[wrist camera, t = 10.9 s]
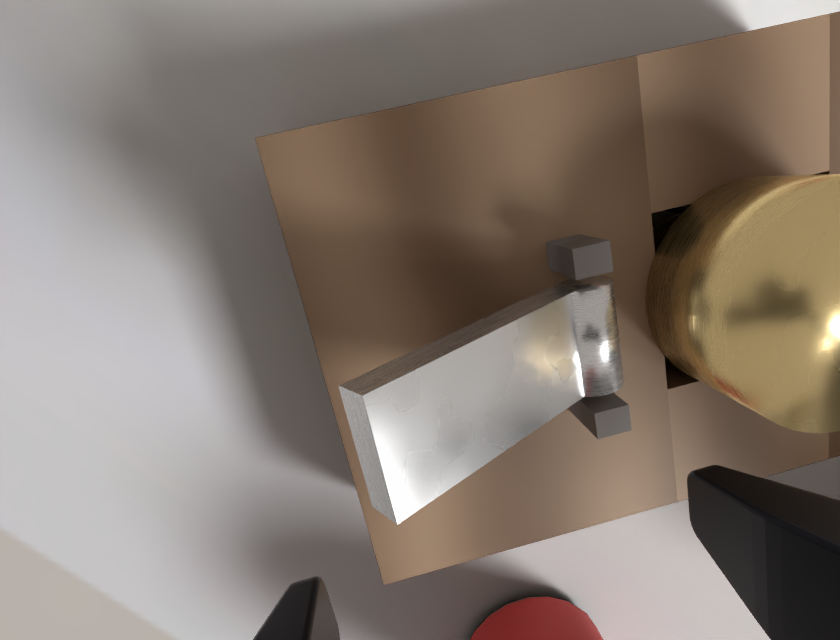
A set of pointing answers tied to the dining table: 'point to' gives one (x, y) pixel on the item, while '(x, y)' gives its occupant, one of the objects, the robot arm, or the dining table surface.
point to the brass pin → (755, 295)
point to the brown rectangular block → (550, 262)
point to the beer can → (537, 621)
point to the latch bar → (480, 391)
